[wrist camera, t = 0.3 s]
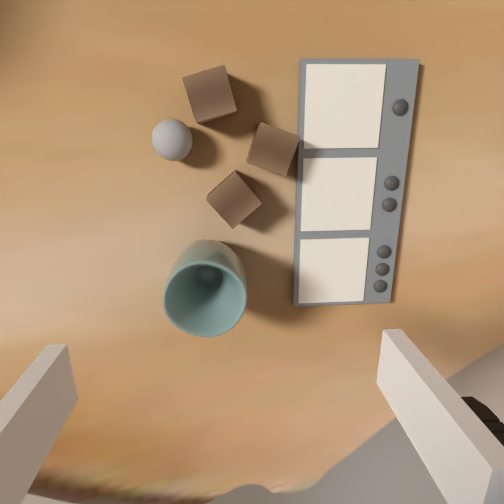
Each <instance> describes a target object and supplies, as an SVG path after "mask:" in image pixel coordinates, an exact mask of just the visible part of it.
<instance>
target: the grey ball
mask: <svg viewBox="0 0 504 504" xmlns="http://www.w3.org/2000/svg"><path fill="white" fill-rule="evenodd" d="M152 144H153V147H154V149H155V151H156V152H157V153H158V154H159V155H160V156H161V157H162V158H164V159H167V160H171V161H177V160H180V159H183V158H184V157H186V156H187V155H188V154H189V152H190V150H191V148H192V144H193V138H192V134H191V132H190V130H189V128H188V127H187V126H186V125H185V124H184V123H183V122H181V121H179V120H176V119H166V120H163V121H161V122H160V123H158V124H157V125H156V127H155V128H154V130H153V133H152Z"/></svg>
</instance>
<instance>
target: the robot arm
mask: <svg viewBox="0 0 504 504" xmlns="http://www.w3.org/2000/svg"><path fill="white" fill-rule="evenodd" d="M376 383H377V385H378V387H379V388H380V390H381V392H382V393H383V395H384V397H385V398H386V400H387V402H388V403H389V405H390V407H391V408H392V410H393V412H394V414H395V415H396V417H397V419H398V420H399V422H400V423H401V425H402V427H403V429H404V430H405V432H406V434H407V435H408V437H409V439H410V440H411V442H412V444H413V446H414V447H415V449H416V450H417V452H418V454H419V456H420V457H421V459H422V460H423V462H424V464H425V466H426V467H427V469H428V471H429V472H430V474H431V476H432V477H433V479H434V481H435V482H436V484H437V486H438V488H439V489H440V491H441V492H442V494H443V496H444V498H445V499H446V501H447V503H448V504H504V424H503V423H502V422H500V421H499V419H498V418H497V416H496V415H495V414H494V413H493V412H492V411H491V410H490V409H489V408H488V407H487V406H485V405H484V404H482V403H481V402H479V401H478V400H476V399H475V398H473V397H460V396H459V395H458V394H457V393H456V392H455V390H454V389H453V388H452V387H451V386H450V385H449V384H448V382H447V381H446V380H445V379H444V378H443V377H442V376H441V374H440V373H439V372H438V371H437V370H436V369H435V368H434V366H433V365H432V364H431V363H430V362H429V361H428V360H427V358H426V357H425V356H424V355H423V354H422V353H421V352H420V351H419V349H418V348H417V347H416V346H415V345H414V344H413V343H412V341H411V340H410V339H409V338H408V337H407V336H406V335H405V333H404V332H403V331H402V330H401V329H386V330H383V334H382V342H381V350H380V358H379V366H378V374H377V382H376ZM77 400H78V396H77V391H76V386H75V382H74V377H73V372H72V367H71V362H70V357H69V352H68V348H67V344H53V345H47V346H46V347H45V348H44V349H43V350H42V352H41V353H40V354H39V355H38V356H37V358H36V359H35V360H34V361H33V362H32V364H31V365H30V366H29V367H28V368H27V370H26V371H25V372H24V373H23V374H22V376H21V377H20V378H19V379H18V380H17V382H16V383H15V384H14V385H13V386H12V388H11V389H10V390H9V391H8V393H7V394H6V395H5V396H4V397H3V399H2V400H1V401H0V504H21V502H22V501H23V499H24V497H25V495H26V493H27V492H28V490H29V488H30V486H31V484H32V482H33V481H34V479H35V477H36V475H37V473H38V471H39V470H40V468H41V466H42V464H43V462H44V461H45V459H46V457H47V455H48V453H49V451H50V450H51V448H52V446H53V444H54V442H55V440H56V439H57V437H58V435H59V433H60V431H61V430H62V428H63V426H64V424H65V422H66V420H67V419H68V417H69V415H70V413H71V411H72V409H73V408H74V406H75V404H76V402H77Z"/></svg>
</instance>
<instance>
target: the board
mask: <svg viewBox="0 0 504 504" xmlns="http://www.w3.org/2000/svg"><path fill="white" fill-rule="evenodd" d="M419 60H420V59H301V60H300V64H299V99H298V133H297V136H299V137H300V140H299V142H298V145H297V168H296V203H295V237H294V272H293V305H294V307H296V306H321V305H346V304H371V303H390V298H391V290H392V282H393V273H394V265H395V257H396V249H397V241H398V232H399V224H400V216H401V208H402V200H403V191H404V183H405V175H406V167H407V159H408V151H409V142H410V134H411V126H412V118H413V110H414V101H415V93H416V85H417V77H418V69H419Z"/></svg>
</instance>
